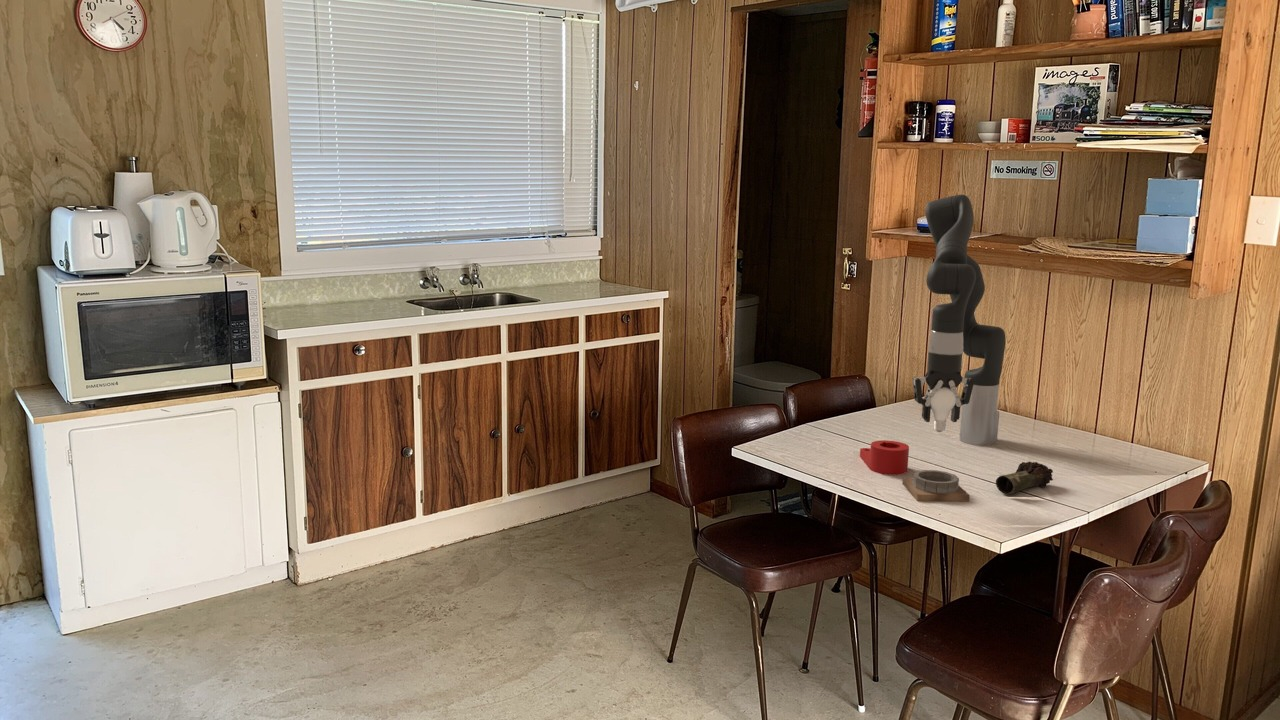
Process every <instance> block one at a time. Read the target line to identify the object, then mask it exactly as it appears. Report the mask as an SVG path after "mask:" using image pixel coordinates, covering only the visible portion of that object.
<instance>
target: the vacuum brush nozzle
mask: <svg viewBox="0 0 1280 720" xmlns="http://www.w3.org/2000/svg"><path fill="white" fill-rule="evenodd" d="M1053 473H1054V470H1053V469H1052V468H1049V467H1048V466H1047V465H1044V464H1043V463H1039V462H1038V461H1033V462H1032V461H1027V462H1025V461H1022V462H1021V463H1019V464H1018V468H1017V469H1016V471H1015V472H1011V473H1008V474H1007V473H1006V474H1003V475H1000V476H998V477H997V478H996V480H995V485H996V488H997V489H998V491H999V492H1000V493H1002V494H1004V495H1006V496H1008V495H1011V494H1013V493H1016V492H1020V491H1023V490H1025V489H1029V488H1031V487H1041V488H1046V487H1047V485H1048V484H1050V483H1051V481H1054V479H1053V477H1052V476H1053Z"/></svg>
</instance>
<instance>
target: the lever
mask: <svg viewBox="0 0 1280 720" xmlns="http://www.w3.org/2000/svg"><path fill="white" fill-rule="evenodd" d="M909 452H910V446H909V445H908V443H904V442H902V441H897V440H886V439H885V440H876V441H875V440H874V441H872V442H871V443H870V448H869V447H863V448H860V449H859V457H860V459H861V460H862V461H863V463H865V465H866V466H867V468H868V469H869V470H870V471H872V472H873V473H876V474H880V475H889V476H897V475H904V474H906V473H907V472H908V469H909V468H908V466H909V454H910V453H909Z"/></svg>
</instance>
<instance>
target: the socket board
mask: <svg viewBox="0 0 1280 720" xmlns="http://www.w3.org/2000/svg"><path fill="white" fill-rule="evenodd" d="M959 482H960V478H959V477H958V476H957V475H955V474H953V473H950V472H947V471H941V470H936V469H935V470H934V469H933V470H932V469H923V470H917V471H915V472H914V473H913V476H912V478H902V483H901V484H902V485H903V486H904V488H906V490H907V492H909V493H910V494H911V496H912V497H913V499H915V500H916V501H917V502H919V501H920V502H970V494H969V493H968V492H967V491H966V490H964V489H963V487H961V485H959Z"/></svg>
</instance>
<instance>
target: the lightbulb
mask: <svg viewBox="0 0 1280 720" xmlns="http://www.w3.org/2000/svg"><path fill="white" fill-rule="evenodd" d="M931 392H932V390H931V391H930V393H931ZM934 393H935V392H934ZM955 403H956V397H955V395H954V393H953V392H952V391H951V390H950V389H949V388H945V387H943V388H940V389H939V391H938V392H937V393H936V394H935V395H934V397H932V398H931V404H930V407H931V411H932V415H933V416H932V417H933V418H934V419H933V430H935V431H936V432H938V433H941V432H944V431H945V430H946V428H947V419H948V418H949V414H950V412H951V410H952V409H953V407H954V406H955Z"/></svg>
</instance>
